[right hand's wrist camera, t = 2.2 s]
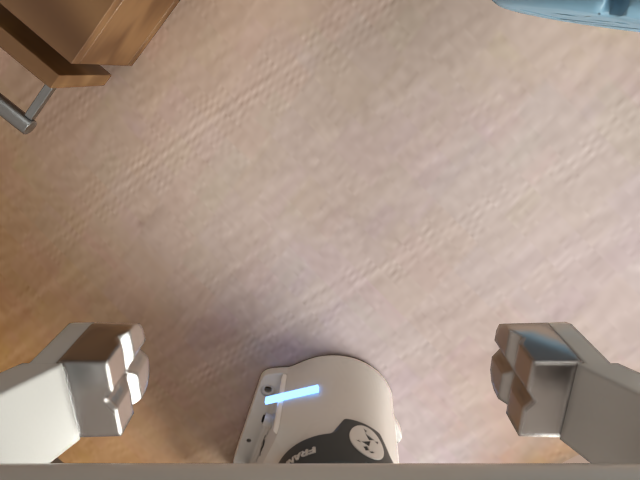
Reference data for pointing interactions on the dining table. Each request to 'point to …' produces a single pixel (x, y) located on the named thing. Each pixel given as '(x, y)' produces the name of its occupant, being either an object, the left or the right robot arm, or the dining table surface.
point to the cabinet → (94, 26)
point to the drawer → (40, 69)
